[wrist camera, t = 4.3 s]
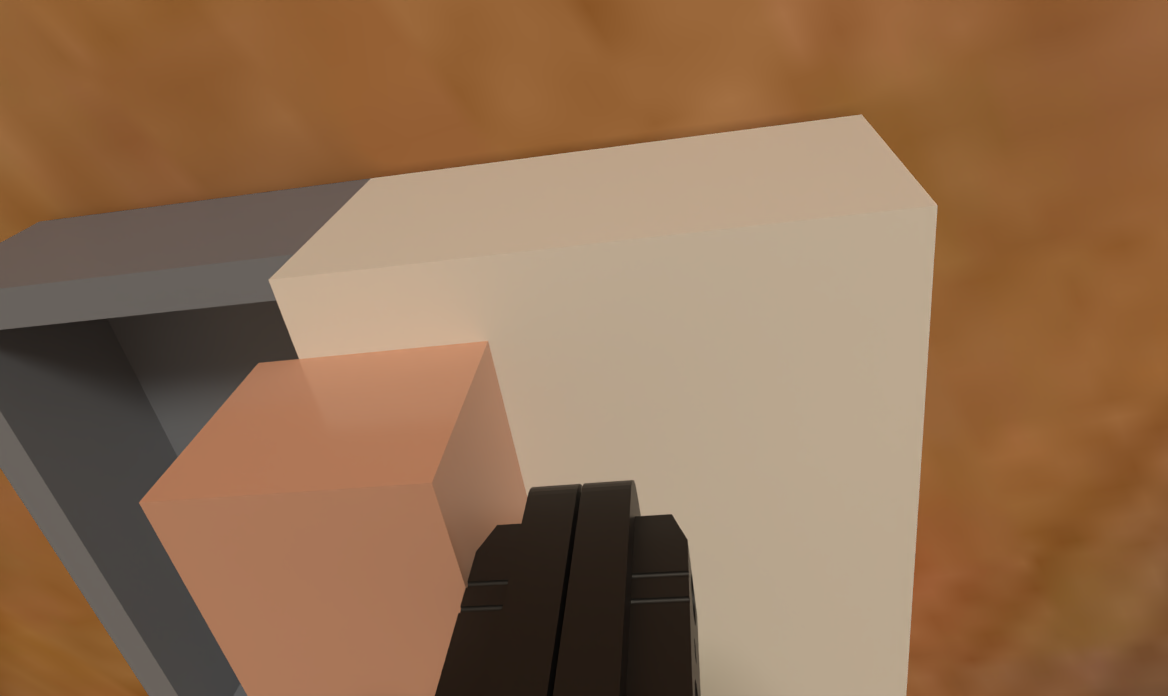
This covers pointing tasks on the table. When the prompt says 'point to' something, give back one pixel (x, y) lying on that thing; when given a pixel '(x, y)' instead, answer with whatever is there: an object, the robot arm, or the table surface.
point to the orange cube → (342, 516)
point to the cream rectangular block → (686, 361)
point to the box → (138, 391)
